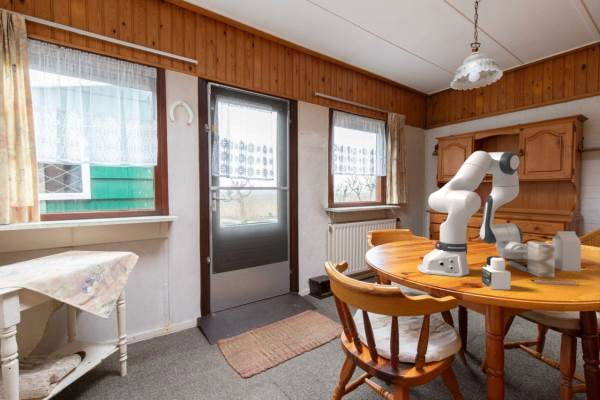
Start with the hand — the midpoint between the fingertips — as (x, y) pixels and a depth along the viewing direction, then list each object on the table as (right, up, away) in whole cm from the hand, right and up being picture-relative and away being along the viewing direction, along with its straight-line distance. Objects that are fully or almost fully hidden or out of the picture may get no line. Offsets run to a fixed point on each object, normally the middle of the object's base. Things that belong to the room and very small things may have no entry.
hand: (534, 258), depth 126 cm
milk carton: (+19, -7, +4) cm, 20 cm away
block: (-1, -6, -4) cm, 8 cm away
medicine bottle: (-29, -8, -15) cm, 34 cm away
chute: (0, -7, -1) cm, 7 cm away
